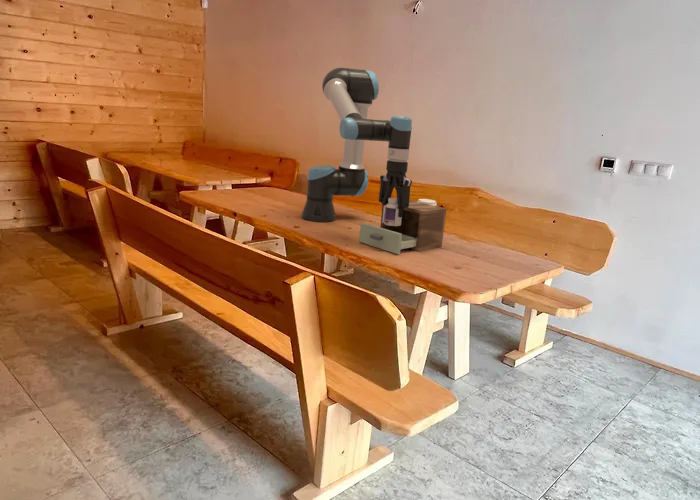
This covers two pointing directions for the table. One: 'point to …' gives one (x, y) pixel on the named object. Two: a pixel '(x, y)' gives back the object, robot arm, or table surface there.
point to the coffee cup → (427, 201)
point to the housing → (421, 224)
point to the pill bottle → (390, 212)
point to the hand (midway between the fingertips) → (391, 223)
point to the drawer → (385, 238)
